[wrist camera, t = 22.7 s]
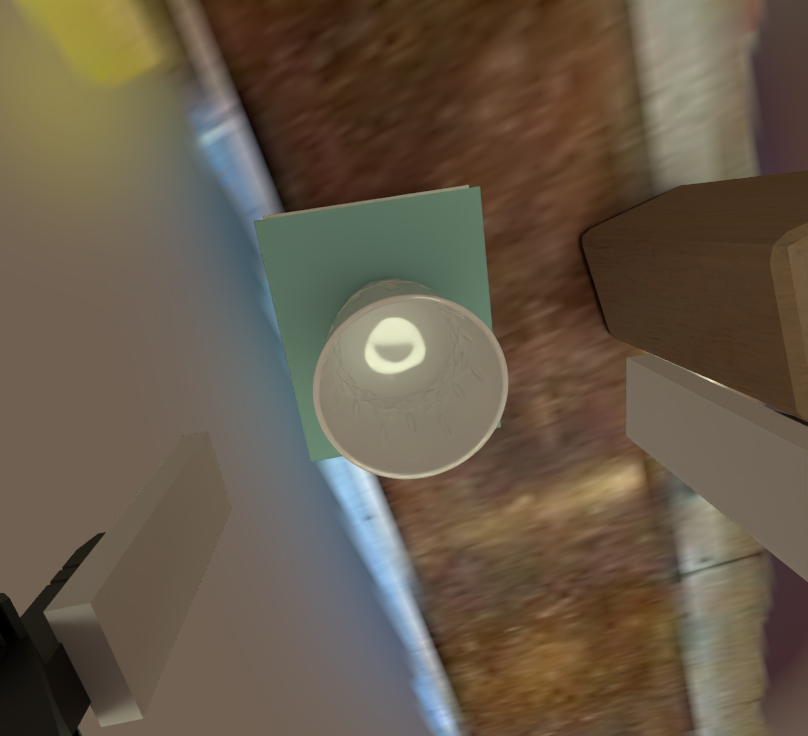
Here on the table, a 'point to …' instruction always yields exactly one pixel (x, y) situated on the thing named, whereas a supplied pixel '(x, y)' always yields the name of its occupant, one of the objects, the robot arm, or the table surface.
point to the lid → (366, 271)
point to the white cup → (408, 381)
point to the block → (714, 282)
